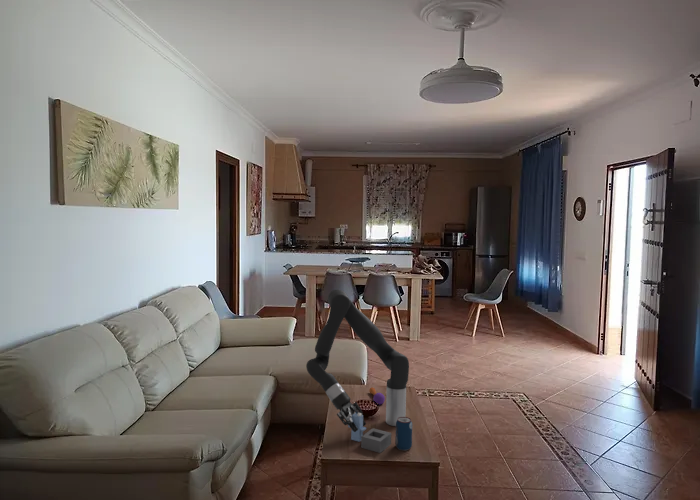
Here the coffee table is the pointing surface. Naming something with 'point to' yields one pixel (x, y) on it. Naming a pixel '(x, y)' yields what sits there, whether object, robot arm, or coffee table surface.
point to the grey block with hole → (376, 440)
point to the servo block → (359, 423)
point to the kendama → (377, 396)
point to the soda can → (403, 433)
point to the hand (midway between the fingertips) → (360, 428)
